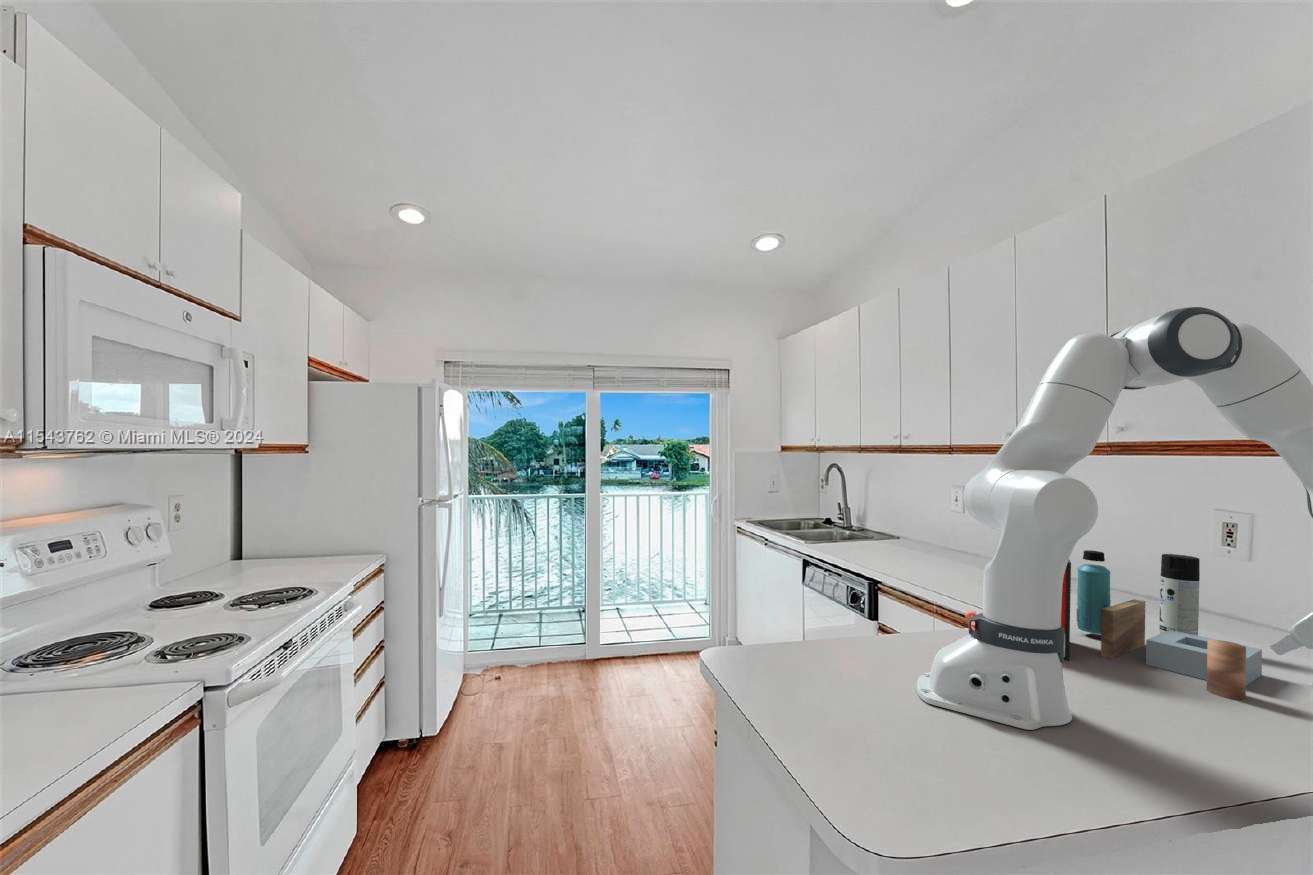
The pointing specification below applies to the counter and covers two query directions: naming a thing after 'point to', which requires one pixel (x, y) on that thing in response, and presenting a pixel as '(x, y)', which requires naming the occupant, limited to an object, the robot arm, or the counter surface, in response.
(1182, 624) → the spray can
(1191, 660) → the square socket block
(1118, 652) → the backstop board
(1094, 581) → the beverage bottle
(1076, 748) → the counter surface
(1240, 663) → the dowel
